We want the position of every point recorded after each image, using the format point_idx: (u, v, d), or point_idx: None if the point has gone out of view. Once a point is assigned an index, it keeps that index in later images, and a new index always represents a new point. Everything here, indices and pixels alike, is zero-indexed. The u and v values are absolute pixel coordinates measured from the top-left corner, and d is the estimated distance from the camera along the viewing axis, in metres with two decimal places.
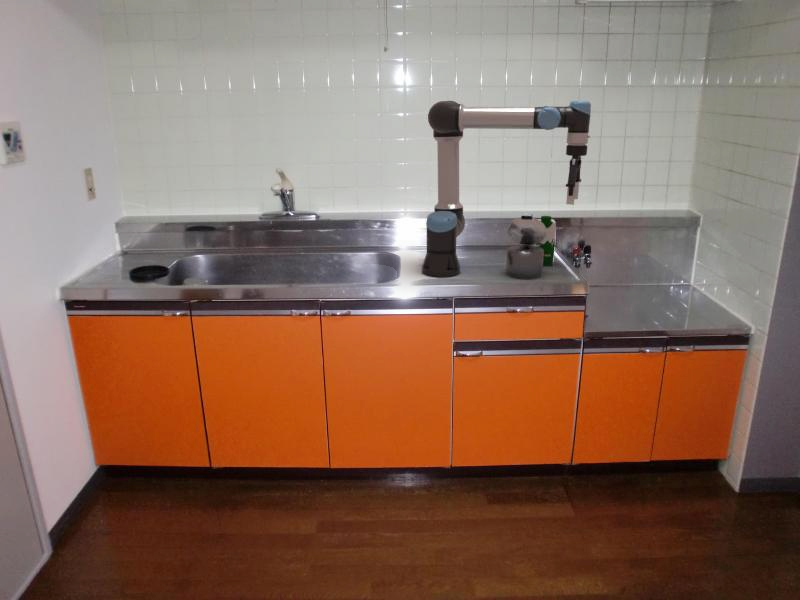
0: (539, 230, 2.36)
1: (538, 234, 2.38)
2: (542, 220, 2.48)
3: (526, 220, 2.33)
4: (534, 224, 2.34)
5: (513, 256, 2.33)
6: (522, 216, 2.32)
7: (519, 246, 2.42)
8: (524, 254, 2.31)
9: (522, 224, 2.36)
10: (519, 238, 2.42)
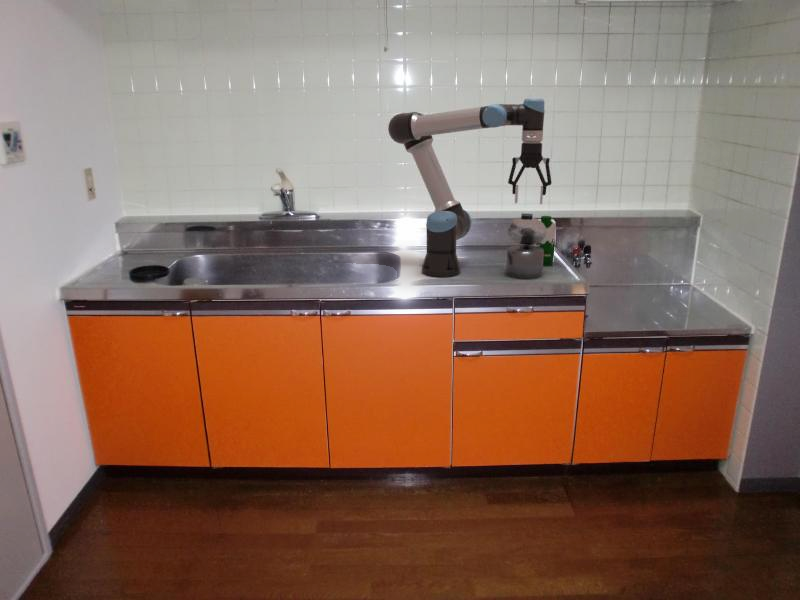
0: (539, 230, 2.36)
1: (538, 234, 2.38)
2: (542, 220, 2.48)
3: (526, 220, 2.33)
4: (534, 224, 2.34)
5: (513, 256, 2.33)
6: (522, 216, 2.32)
7: (519, 246, 2.42)
8: (524, 254, 2.31)
9: (522, 224, 2.36)
10: (519, 238, 2.42)
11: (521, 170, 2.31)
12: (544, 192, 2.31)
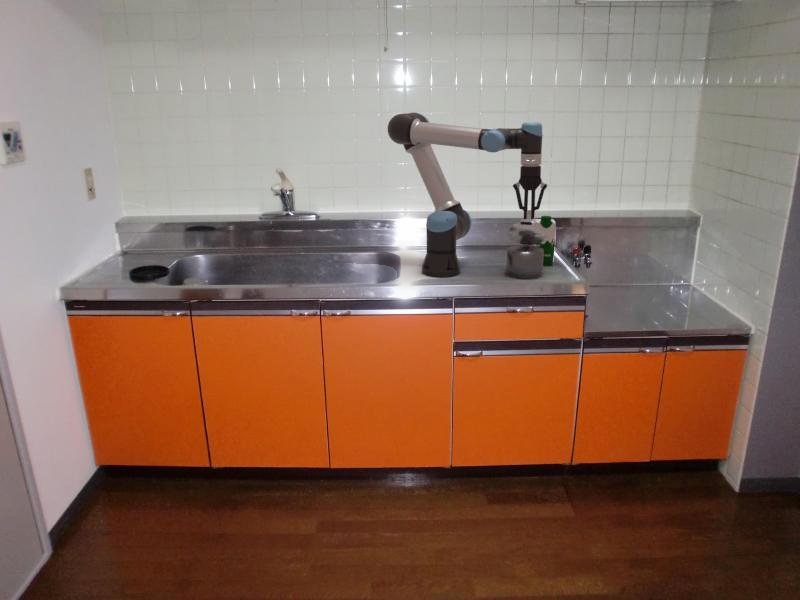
0: (539, 233, 2.35)
1: (538, 236, 2.37)
2: (542, 220, 2.48)
3: (525, 225, 2.32)
4: (533, 228, 2.33)
5: (513, 256, 2.33)
6: (521, 222, 2.31)
7: (519, 246, 2.42)
8: (524, 254, 2.31)
9: (521, 228, 2.35)
10: (519, 239, 2.42)
11: (525, 194, 2.33)
12: (532, 216, 2.35)
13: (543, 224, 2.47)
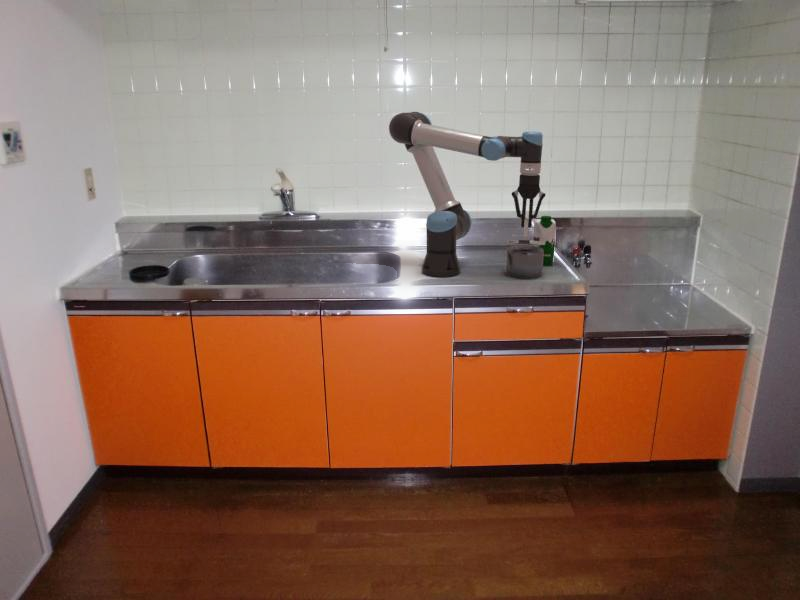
0: (538, 244, 2.34)
1: None
2: (542, 220, 2.48)
3: (523, 243, 2.31)
4: None
5: (513, 256, 2.33)
6: (519, 243, 2.29)
7: (519, 246, 2.42)
8: (524, 254, 2.31)
9: (520, 243, 2.33)
10: None
11: (524, 202, 2.34)
12: (529, 225, 2.36)
13: (543, 224, 2.47)
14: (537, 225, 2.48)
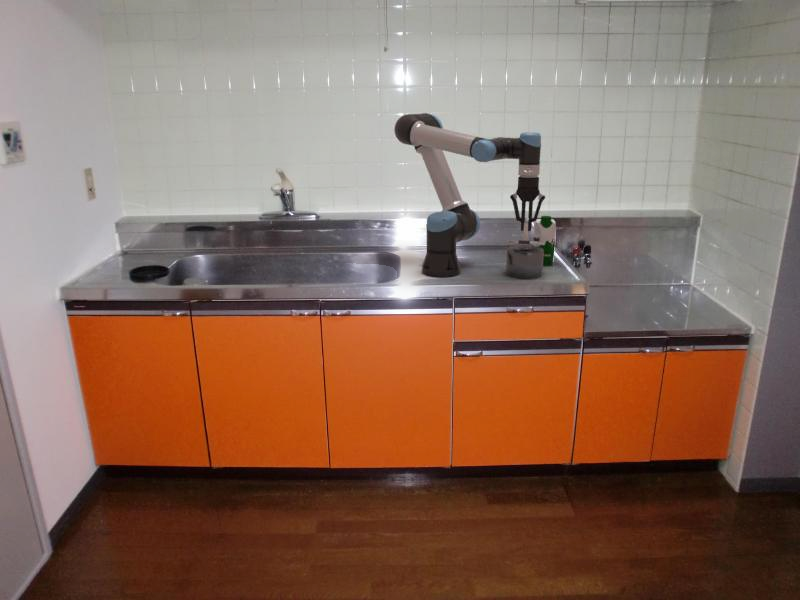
0: None
1: None
2: (542, 220, 2.48)
3: None
4: (532, 244, 2.32)
5: (513, 256, 2.33)
6: (519, 243, 2.29)
7: (519, 246, 2.42)
8: (524, 254, 2.31)
9: None
10: None
11: (523, 205, 2.27)
12: (529, 228, 2.30)
13: (543, 224, 2.47)
14: (537, 225, 2.48)
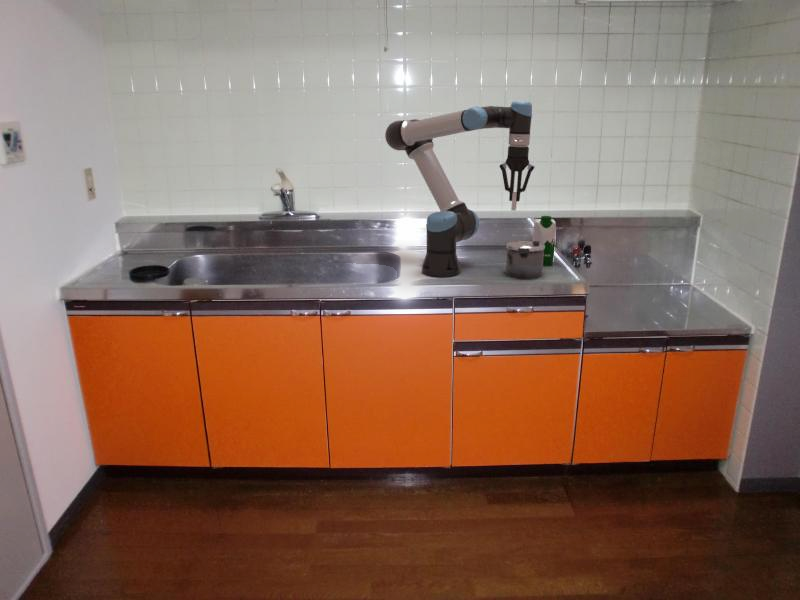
0: None
1: None
2: (542, 220, 2.48)
3: None
4: None
5: (513, 256, 2.33)
6: (518, 251, 2.30)
7: None
8: (524, 254, 2.31)
9: None
10: None
11: (512, 175, 2.28)
12: (518, 198, 2.30)
13: (543, 224, 2.47)
14: (537, 225, 2.48)
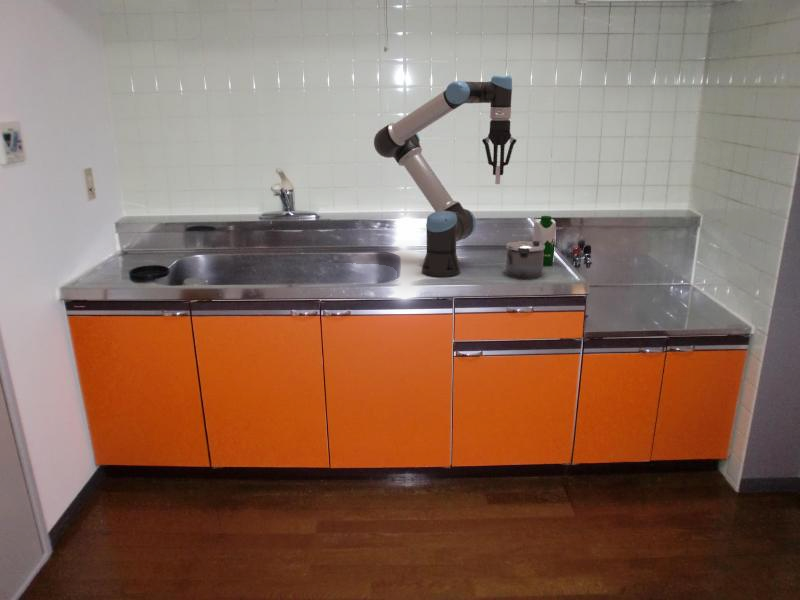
0: None
1: None
2: (542, 220, 2.48)
3: None
4: None
5: (513, 256, 2.33)
6: (518, 251, 2.30)
7: None
8: (524, 254, 2.31)
9: None
10: None
11: (495, 149, 2.31)
12: (501, 172, 2.33)
13: (543, 224, 2.47)
14: (537, 225, 2.48)
